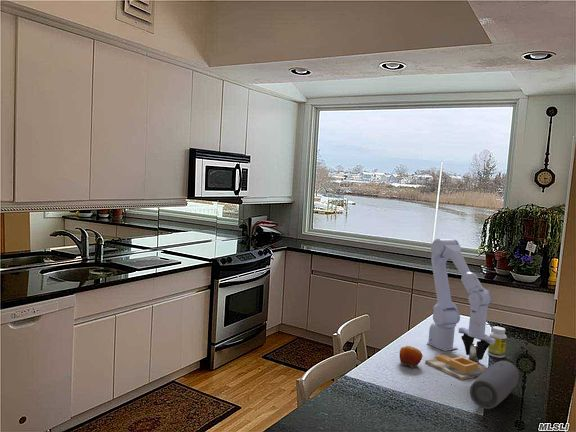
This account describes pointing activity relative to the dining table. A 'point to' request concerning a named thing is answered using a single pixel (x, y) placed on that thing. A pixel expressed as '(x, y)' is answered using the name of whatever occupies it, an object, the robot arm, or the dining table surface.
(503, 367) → the bluetooth speaker
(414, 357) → the fruit
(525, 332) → the dining table surface
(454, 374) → the rosette board
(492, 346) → the pill bottle
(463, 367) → the bracket
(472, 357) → the pin
